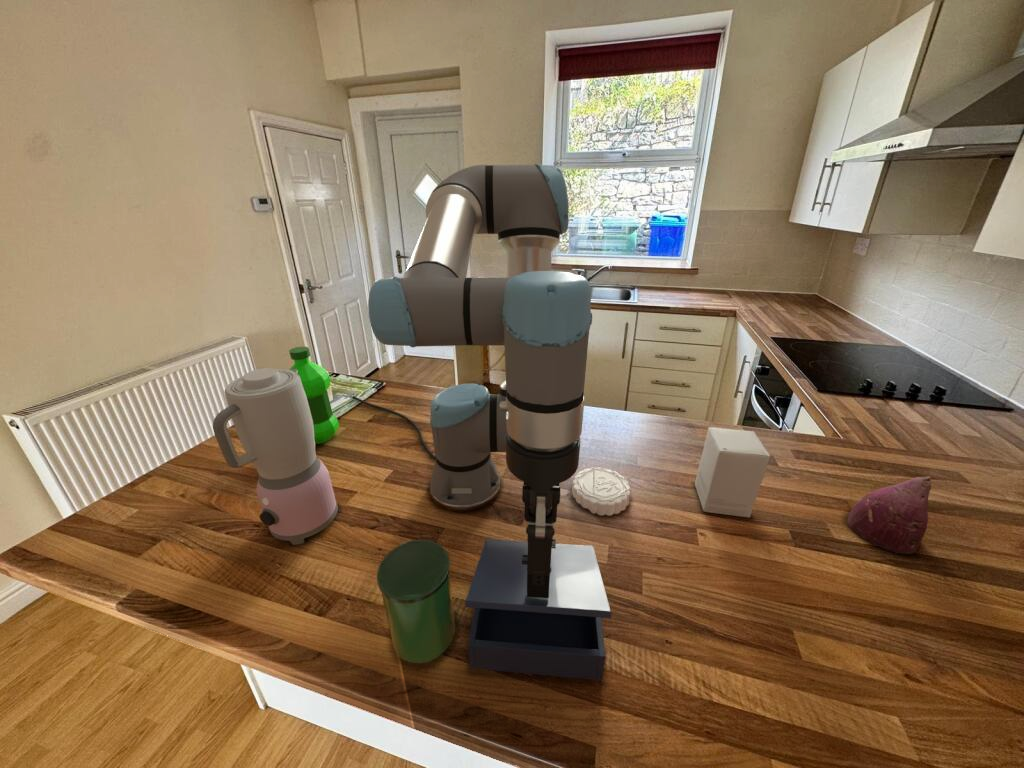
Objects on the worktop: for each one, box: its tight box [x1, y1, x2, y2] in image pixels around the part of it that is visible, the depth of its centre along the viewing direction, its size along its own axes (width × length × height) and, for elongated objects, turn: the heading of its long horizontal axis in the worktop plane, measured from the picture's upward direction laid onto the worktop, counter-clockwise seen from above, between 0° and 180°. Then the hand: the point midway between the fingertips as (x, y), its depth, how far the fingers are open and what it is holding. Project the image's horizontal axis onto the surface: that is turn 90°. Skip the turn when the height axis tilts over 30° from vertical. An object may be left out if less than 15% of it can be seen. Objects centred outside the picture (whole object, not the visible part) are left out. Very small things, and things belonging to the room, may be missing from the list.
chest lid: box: [464, 538, 612, 619], centre depth 57 cm, size 18×18×1 cm
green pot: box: [376, 539, 456, 664], centre depth 56 cm, size 9×9×14 cm
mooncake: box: [571, 466, 632, 517], centre depth 84 cm, size 12×12×4 cm
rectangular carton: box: [694, 426, 771, 518], centre depth 80 cm, size 9×9×15 cm
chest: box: [467, 608, 607, 681], centre depth 60 cm, size 17×18×6 cm
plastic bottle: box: [288, 345, 340, 445], centre depth 100 cm, size 10×10×25 cm
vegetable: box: [847, 476, 932, 555], centre depth 73 cm, size 10×10×15 cm
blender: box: [212, 367, 339, 546], centre depth 71 cm, size 16×12×32 cm
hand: (537, 591), depth 50 cm, fingers closed
